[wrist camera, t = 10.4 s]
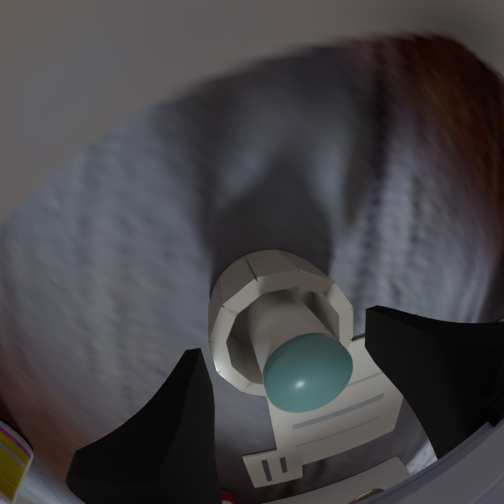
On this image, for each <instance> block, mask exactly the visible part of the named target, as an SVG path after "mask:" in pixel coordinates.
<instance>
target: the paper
mask: <svg viewBox="0 0 504 504" xmlns="http://www.w3.org/2000/svg"><path fill="white" fill-rule="evenodd" d="M364 346H365V336H363V337H360V338H357V339H354V340H352V342H351V344H350V345H349V347H348V349H347V351H348V352H349V353H350V355H351V357H352V360H353V372H352V375H351V378H350V380H349V383H348V384H347V386H346V387H345V389H344V390H343V391H342V392H341V393H340V394H339V395H338V396H337V397H336V398H335V399H334V400H332V401H331V402H330V403H328V404H326V405H324V406H323V407H320V408H318V409H315V410H312V411H308V412H302V413H292V412H286V411H283V410H280V409H278V408H277V407H275V406H274V405H273V404H272V403H271V402H270V401H269V399H268V397H267V401H268V406H269V411H270V416H271V421H272V427H273V432H274V437H275V442H276V447H277V451H278V456H279V461H280V458H282V457H285V459H286V465H287V469H289V468H293V467H297V466H300V465H305V464H308V463H311V462H315V461H318V460H321V459H324V458H327V457H330V456H333V455H336V454H339V453H342V452H344V451H347V450H350V449H352V448H355V447H357V446H360V445H362V444H365V443H367V442H369V441H372V440H374V439H376V438H379V437H381V436H383V435H385V434H387V433H389V432H391V431H393V430H394V428H395V425H396V422H397V418H398V415H399V412H400V408H401V405H402V401H403V397H404V396H403V395H402V394H401V392H400V391H399V390H398V389H397V388H396V387H395V386H394V384H393V383H392V382H391V381H390V380H389V379H388V378H387V377H386V375H385V374H384V373H383V372H382V371H381V370H380V368H379V367H378V366H377V365H376V364H375V363H374V361H373V360H372V358H371V357H370V355H369V353H368V352H367V350H366V348H365V347H364ZM300 461H301V462H300ZM280 466H281V463H280ZM281 470H282V468H281Z"/></svg>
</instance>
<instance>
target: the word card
mask: <svg viewBox="0 0 504 504" xmlns="http://www.w3.org/2000/svg"><path fill="white" fill-rule="evenodd" d="M242 458H243V461H244V463H245V466H246V468H247V471H248V473H249V475H250V478H251V480H252V483H253V485H254V487H255V488H257V487H263V486H268V485H273V484H277V483H282V482H286V481H290V480H294V479H298V478H302V477H303V473H302V465H300V466H297V467H293V468H289V469H287V465H286V459H285V457H282V458H280V461H279V456H278V451H277V449H275V450H271V451H266V452H261V453H256V454H251V455H245V456H242ZM300 462H301V461H300ZM280 463H281V466H280ZM281 468H282V470H281Z"/></svg>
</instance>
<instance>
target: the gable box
mask: <svg viewBox="0 0 504 504" xmlns="http://www.w3.org/2000/svg"><path fill="white" fill-rule="evenodd" d="M409 477H411V474H410V473H409V471H408V470H407V468H406V467H405V466H404V464H403V463H402V461H401V460H400V458H399V457H398V456H395V457H393V458H391V459H389V460H387V461H385V462H383V463H381V464H379V465H377V466H375V467H372V468H370V469H368V470H366V471H364V472H361V473H359V474H357V475H354V476H352V477H349V478H347V479H344V480H342V481H339V482H336V483H334V484H331V485H328V486H325V487H322V488H319V489H316V490H313V491H310V492H306V493H303V494H299V495H296V496H292V497H288V498H284V499H280V500H275V501H271V502H266V503H261V504H355V503H357V502H360V501H362V500H365V499H367V498H369V497H371V496H374V495H376V494H378V493H380V492H382V491H384V490H386V489H389V488H391V487H393V486H394V485H396V484H398V483H400V482H402V481H404V480H406V479H408V478H409Z"/></svg>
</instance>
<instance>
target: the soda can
mask: <svg viewBox="0 0 504 504" xmlns="http://www.w3.org/2000/svg"><path fill="white" fill-rule="evenodd" d="M220 494H221V499H222V504H235V498H234V496H233V495H232V494H231V493H230V492H229V491H227V490H225V489H221V488H220Z"/></svg>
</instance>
